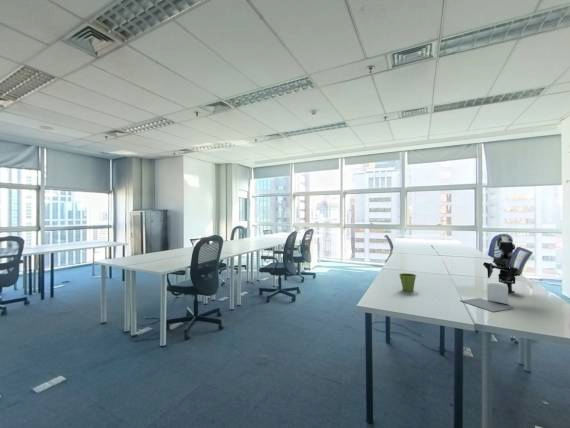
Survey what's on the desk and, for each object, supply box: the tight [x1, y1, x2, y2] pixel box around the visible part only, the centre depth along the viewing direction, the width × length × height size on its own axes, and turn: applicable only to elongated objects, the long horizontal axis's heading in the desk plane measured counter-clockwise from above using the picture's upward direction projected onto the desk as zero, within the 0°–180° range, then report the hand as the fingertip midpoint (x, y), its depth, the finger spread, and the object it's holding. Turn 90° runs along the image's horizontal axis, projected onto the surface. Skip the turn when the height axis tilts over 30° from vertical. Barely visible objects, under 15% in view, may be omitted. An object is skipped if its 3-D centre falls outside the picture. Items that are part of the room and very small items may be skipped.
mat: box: [460, 297, 515, 313], centre depth 158 cm, size 16×20×1 cm
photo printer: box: [486, 281, 509, 305], centre depth 162 cm, size 10×4×12 cm, turn 39°
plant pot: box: [398, 272, 417, 292], centre depth 191 cm, size 12×12×11 cm
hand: (496, 279), depth 168 cm, fingers open, 9 cm apart
